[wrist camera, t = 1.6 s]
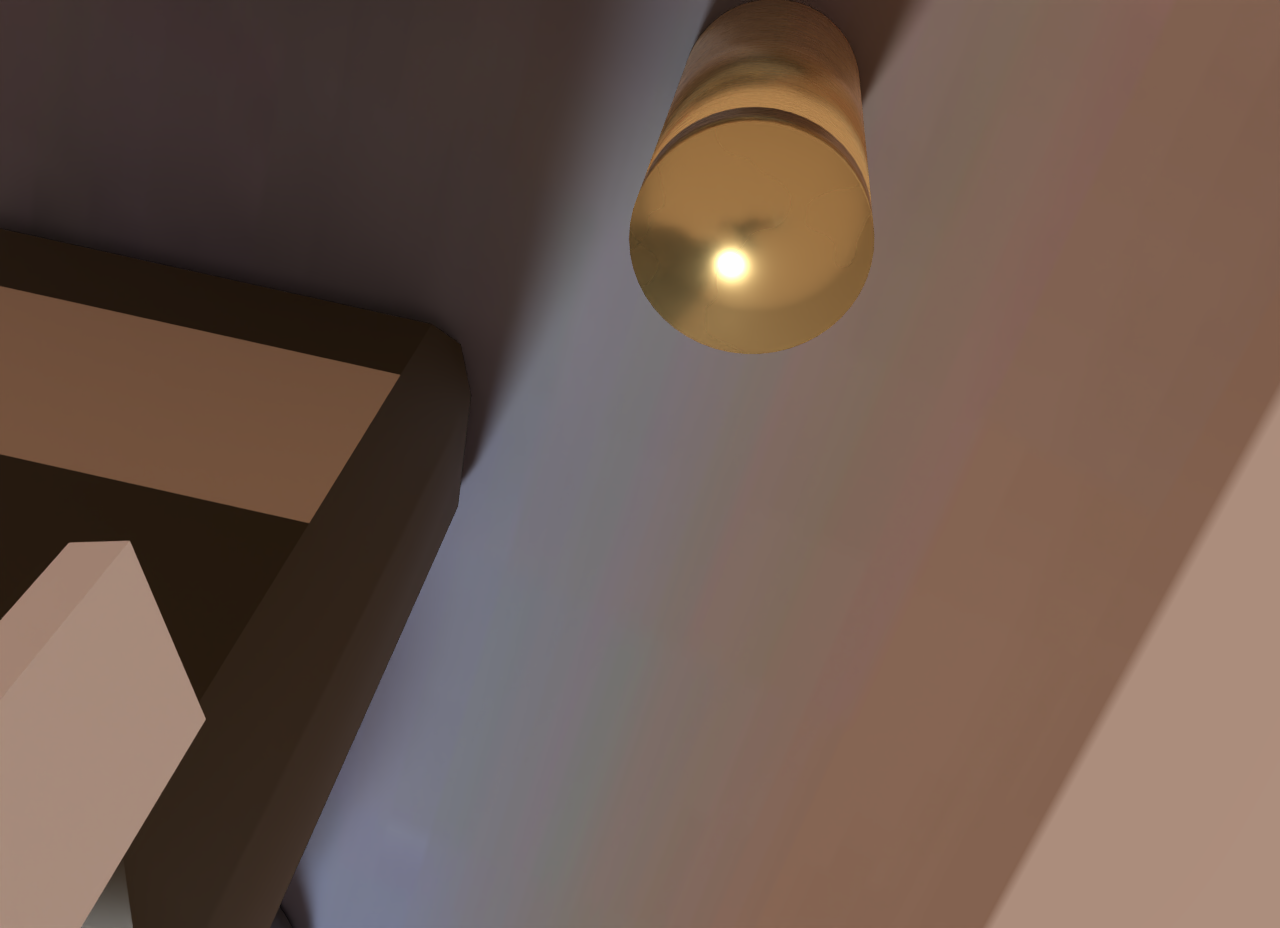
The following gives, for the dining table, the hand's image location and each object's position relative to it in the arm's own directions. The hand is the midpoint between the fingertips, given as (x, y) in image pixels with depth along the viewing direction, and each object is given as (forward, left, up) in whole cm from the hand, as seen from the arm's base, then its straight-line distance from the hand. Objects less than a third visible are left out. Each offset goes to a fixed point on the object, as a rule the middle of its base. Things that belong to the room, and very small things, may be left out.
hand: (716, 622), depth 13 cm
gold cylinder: (0, 0, -20) cm, 21 cm away
